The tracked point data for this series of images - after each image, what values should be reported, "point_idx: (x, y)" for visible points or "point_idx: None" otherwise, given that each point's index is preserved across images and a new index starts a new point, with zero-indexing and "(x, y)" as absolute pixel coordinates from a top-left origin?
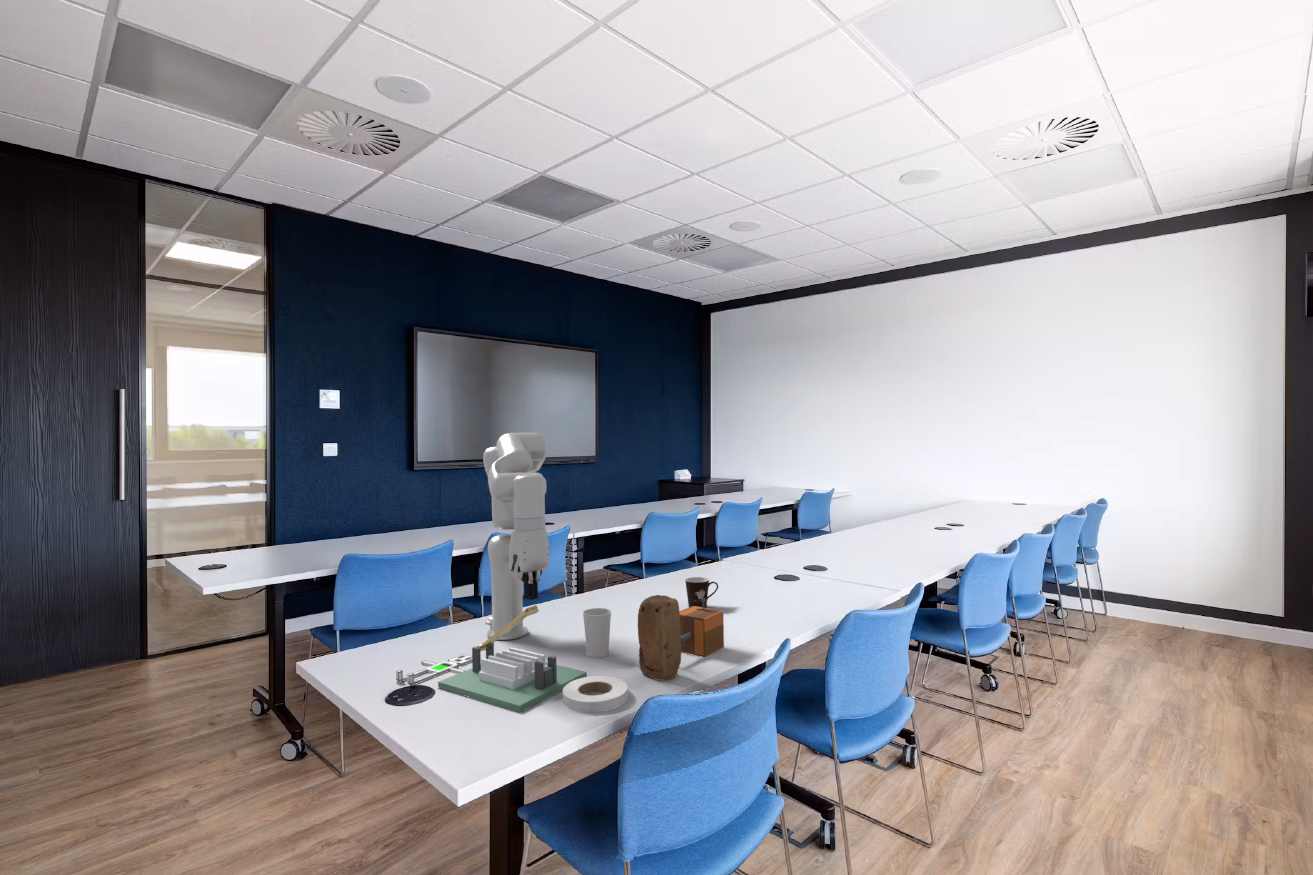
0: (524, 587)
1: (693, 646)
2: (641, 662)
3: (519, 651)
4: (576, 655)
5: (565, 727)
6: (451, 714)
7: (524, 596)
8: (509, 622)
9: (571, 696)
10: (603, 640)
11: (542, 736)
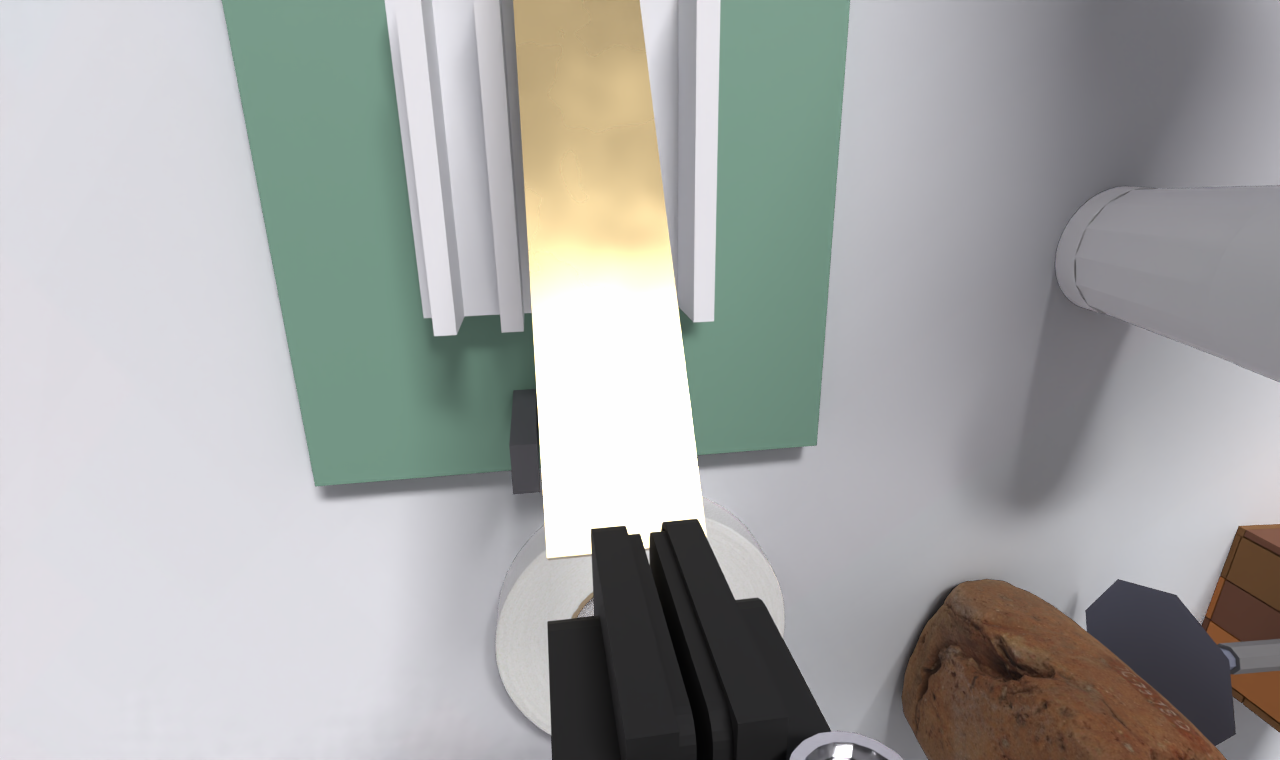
0: (553, 733)
1: (1241, 637)
2: (964, 630)
3: (693, 90)
4: (1052, 163)
5: (359, 704)
6: (45, 206)
7: (595, 543)
8: (525, 183)
9: (515, 625)
10: (1154, 330)
11: (244, 697)
